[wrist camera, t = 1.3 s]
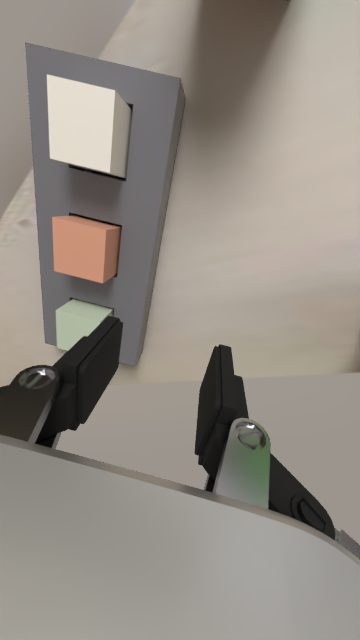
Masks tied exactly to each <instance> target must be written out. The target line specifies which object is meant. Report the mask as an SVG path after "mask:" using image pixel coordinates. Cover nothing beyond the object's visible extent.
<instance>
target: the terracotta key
mask: <svg viewBox="0 0 360 640" xmlns="http://www.w3.org/2000/svg"><path fill="white" fill-rule="evenodd" d="M52 227H53V254H54V271H56V272H60V273H64V274H68V275H72V276H76V277H80V278H84V279H88V280H91V281H95V282H99V283H104V282H106V281H107V280H109V279H110V278H112V277H113V276H114V275H116V274H117V273H118V264H119V253H120V242H121V232H122V226H120V225H116V224H112V223H108V222H104V221H100V220H96V219H92V218H88V217H83V216H79V215H74V216H57V217H52Z"/></svg>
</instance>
